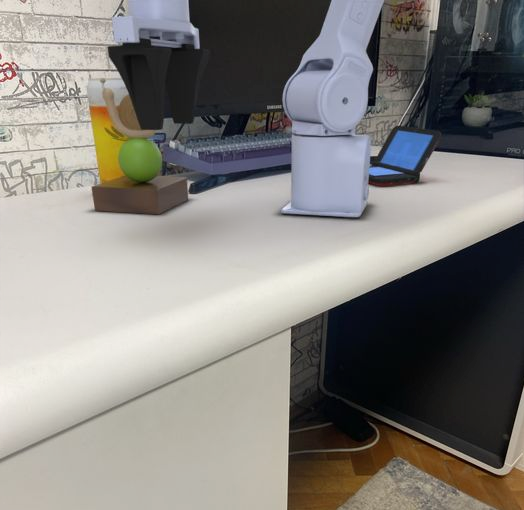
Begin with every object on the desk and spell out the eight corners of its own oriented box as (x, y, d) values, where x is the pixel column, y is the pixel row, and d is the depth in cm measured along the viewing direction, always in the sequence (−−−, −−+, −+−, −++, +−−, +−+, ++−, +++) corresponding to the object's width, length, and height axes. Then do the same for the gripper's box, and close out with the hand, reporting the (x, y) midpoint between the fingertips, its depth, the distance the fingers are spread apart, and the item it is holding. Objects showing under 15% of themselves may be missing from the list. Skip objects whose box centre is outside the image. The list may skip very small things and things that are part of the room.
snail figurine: (118, 179, 71) (105, 77, 66) (166, 178, 71) (157, 77, 66) (108, 186, 66) (93, 78, 61) (160, 185, 66) (150, 77, 61)
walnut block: (188, 200, 73) (187, 177, 72) (158, 214, 65) (156, 189, 64) (130, 196, 75) (127, 174, 74) (94, 210, 68) (91, 186, 66)
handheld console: (337, 175, 90) (339, 127, 87) (391, 170, 94) (395, 124, 90) (378, 187, 80) (383, 134, 76) (437, 182, 83) (444, 130, 80)
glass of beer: (134, 197, 75) (119, 77, 68) (94, 196, 76) (76, 78, 69) (150, 189, 80) (139, 77, 73) (113, 188, 81) (98, 78, 75)
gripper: (152, -18, 57) (164, 120, 63) (71, -44, 44) (96, 132, 50) (214, -22, 55) (220, 121, 61) (148, -50, 42) (164, 133, 49)
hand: (168, 126), depth 56 cm, fingers open, 7 cm apart
